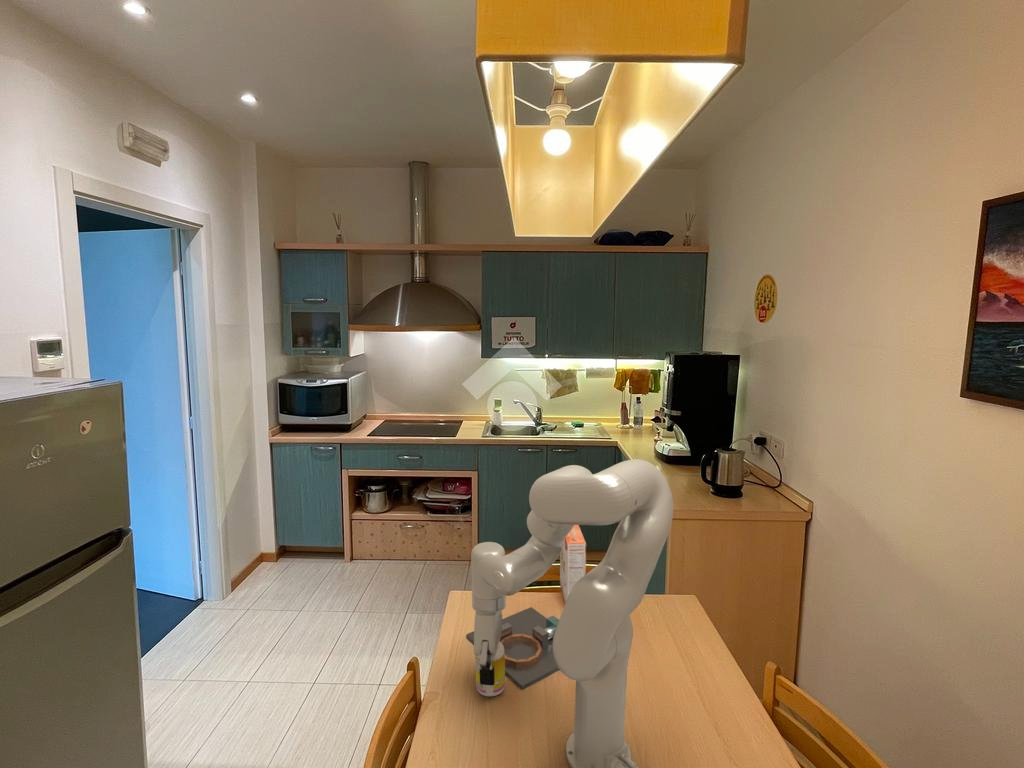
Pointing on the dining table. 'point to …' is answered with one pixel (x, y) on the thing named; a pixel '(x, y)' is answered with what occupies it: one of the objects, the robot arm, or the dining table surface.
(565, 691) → the dining table surface
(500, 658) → the supplement bottle
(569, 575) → the cracker box
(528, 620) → the base
